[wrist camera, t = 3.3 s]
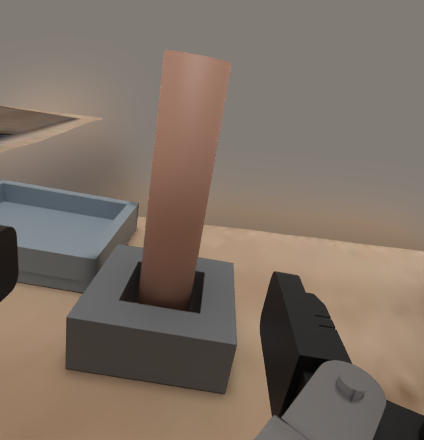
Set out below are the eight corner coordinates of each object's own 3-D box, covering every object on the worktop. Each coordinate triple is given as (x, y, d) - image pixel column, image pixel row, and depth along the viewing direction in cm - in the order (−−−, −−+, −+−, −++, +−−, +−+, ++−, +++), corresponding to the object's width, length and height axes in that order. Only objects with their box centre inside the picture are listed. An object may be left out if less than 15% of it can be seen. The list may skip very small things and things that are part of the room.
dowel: (187, 316, 25) (231, 66, 19) (181, 350, 22) (232, 60, 15) (141, 309, 25) (170, 54, 19) (129, 341, 21) (158, 47, 15)
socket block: (225, 300, 27) (233, 263, 26) (224, 393, 19) (236, 345, 18) (115, 282, 27) (118, 243, 26) (65, 368, 19) (66, 317, 18)
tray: (136, 228, 37) (138, 203, 36) (93, 294, 25) (95, 259, 24) (1, 205, 37) (-1, 179, 36) (-109, 261, 25) (-116, 224, 24)
